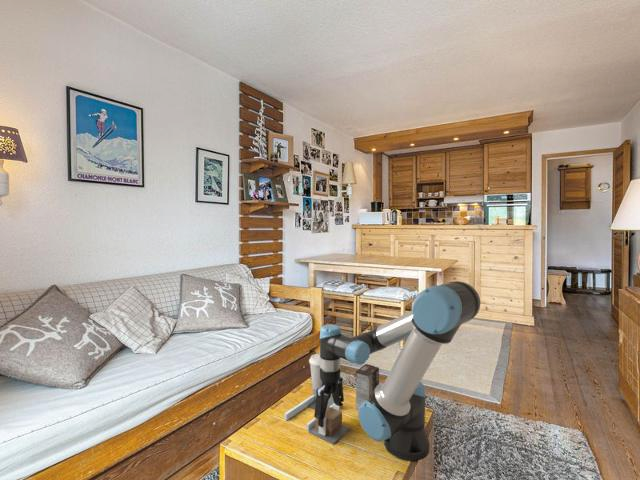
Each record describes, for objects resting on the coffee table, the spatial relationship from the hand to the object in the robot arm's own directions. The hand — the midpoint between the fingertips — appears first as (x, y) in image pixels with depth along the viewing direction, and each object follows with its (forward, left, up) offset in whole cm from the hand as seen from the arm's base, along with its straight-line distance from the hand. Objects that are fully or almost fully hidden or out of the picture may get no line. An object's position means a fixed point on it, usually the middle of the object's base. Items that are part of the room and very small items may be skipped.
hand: (329, 428), depth 126 cm
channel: (+12, -4, -1) cm, 13 cm away
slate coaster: (0, 0, -1) cm, 1 cm away
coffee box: (-3, -23, -1) cm, 23 cm away
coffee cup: (+22, -23, -1) cm, 32 cm away
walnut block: (0, 0, 0) cm, 1 cm away
